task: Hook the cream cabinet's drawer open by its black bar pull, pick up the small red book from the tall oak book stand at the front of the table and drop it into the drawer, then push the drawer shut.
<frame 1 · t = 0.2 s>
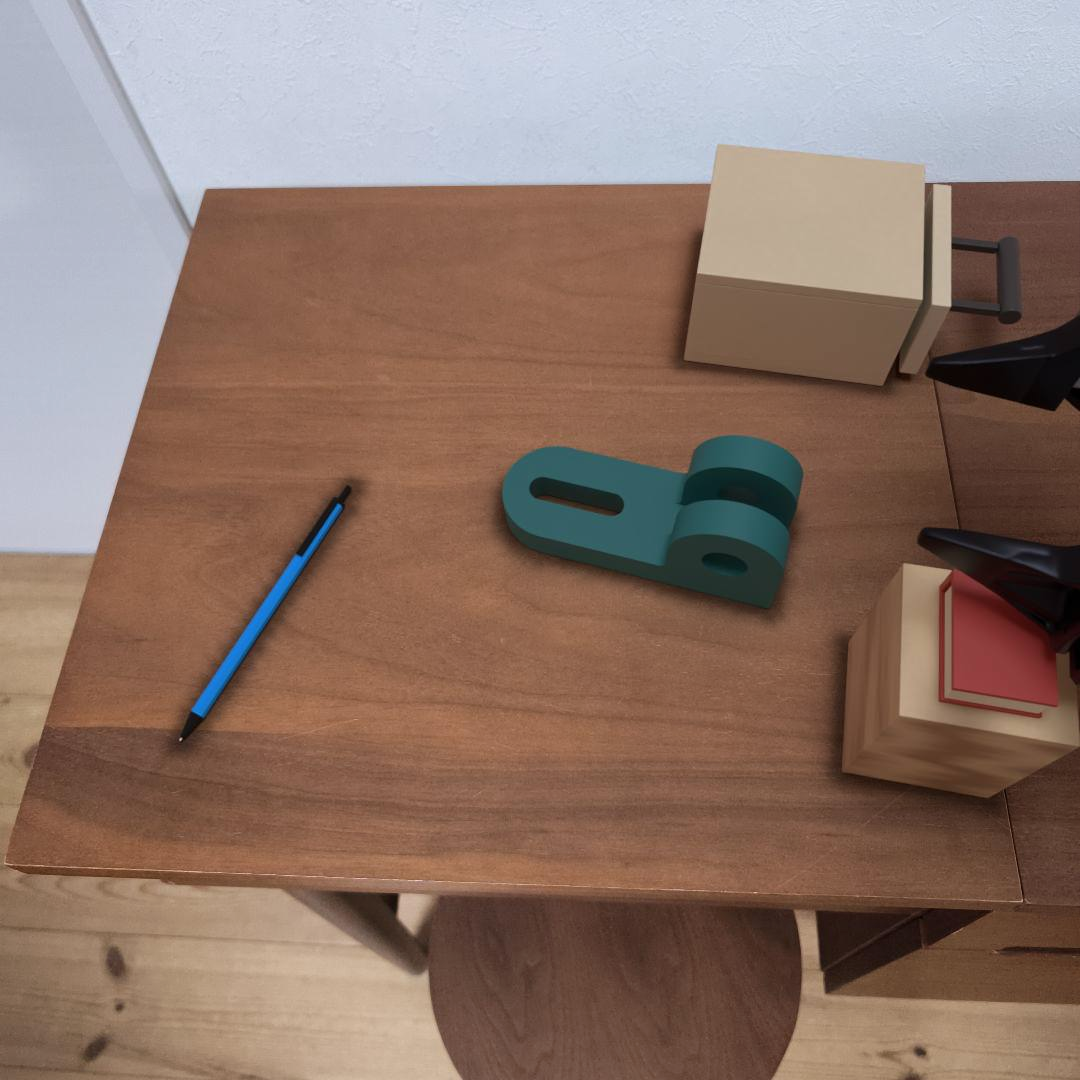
hand: (923, 447, 43), 17 cm above the table, tool horizontal, fingers open, 9 cm apart
bracket: (639, 529, 61), on the table
pen: (272, 609, 60), on the table
stand: (915, 716, 55), on the table
cabinet: (788, 308, 69), on the table
book: (987, 649, 45), point 11 cm above the table, touching stand
drawer: (878, 274, 64), point 4 cm above the table, slide at 0.8 cm
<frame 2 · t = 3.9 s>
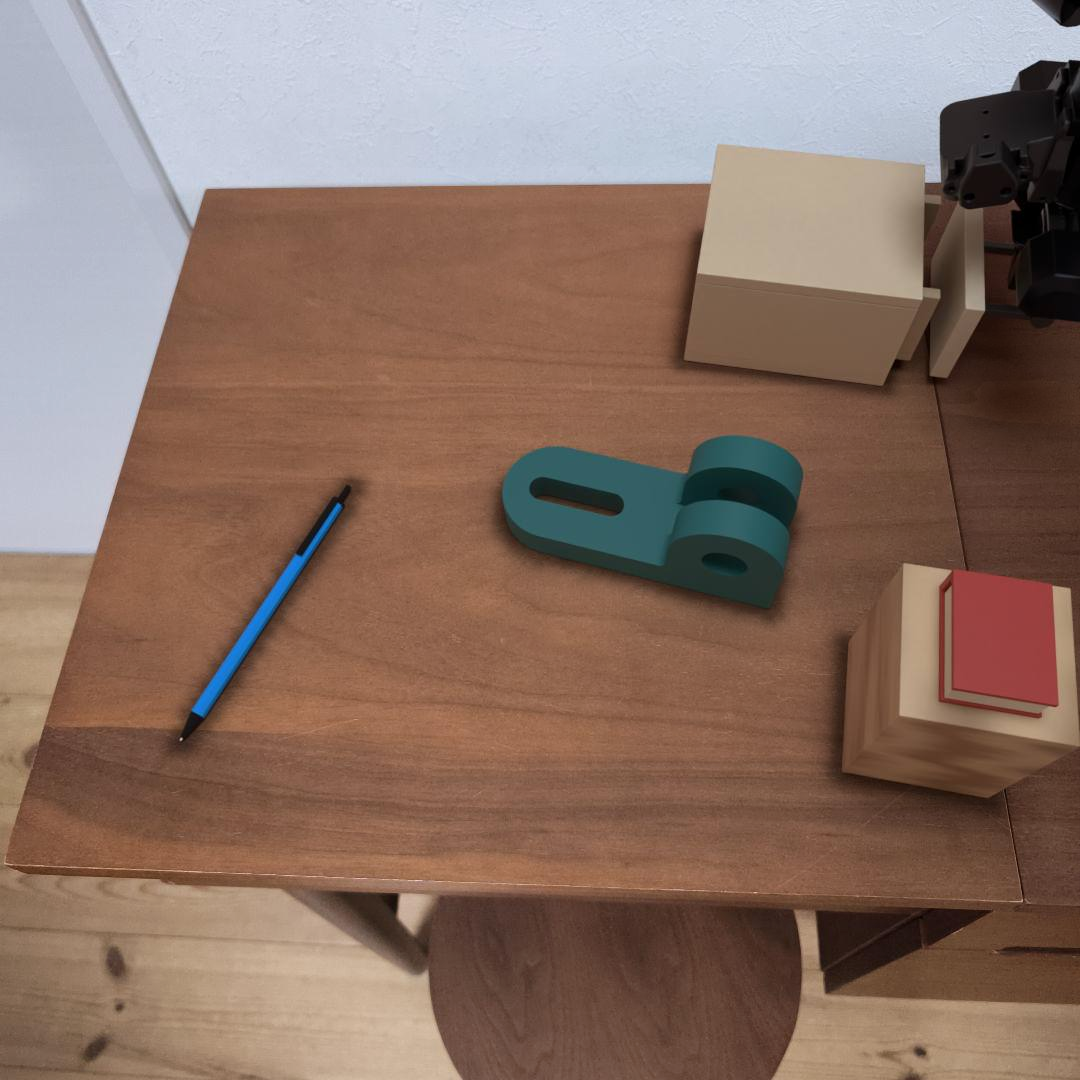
hand: (1015, 286, 63), 5 cm above the table, tool pointing down, fingers closed, pressing on drawer
drawer: (908, 278, 64), point 4 cm above the table, slide at 2.8 cm, touching gripper
everything else where it was.
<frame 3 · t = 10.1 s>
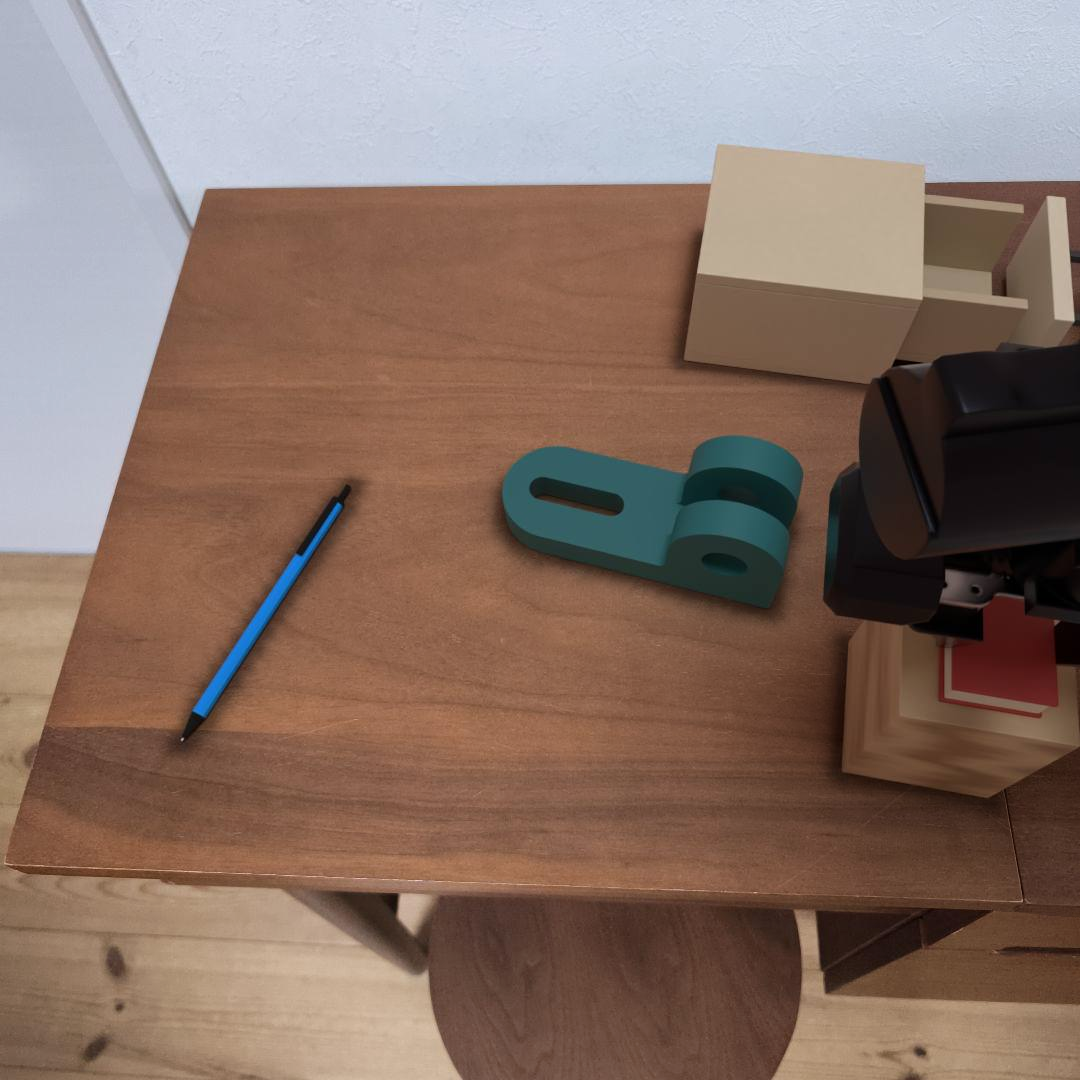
hand: (992, 646, 44), 12 cm above the table, tool pointing down, fingers closed on book, 4 cm apart
book: (987, 649, 45), point 11 cm above the table, touching gripper, stand
drawer: (989, 287, 63), point 4 cm above the table, slide at 8.1 cm
everything else where it was.
when the fingers open (6 cm above the table, at t = 15.4 s): book drops 4 cm, resting on drawer.
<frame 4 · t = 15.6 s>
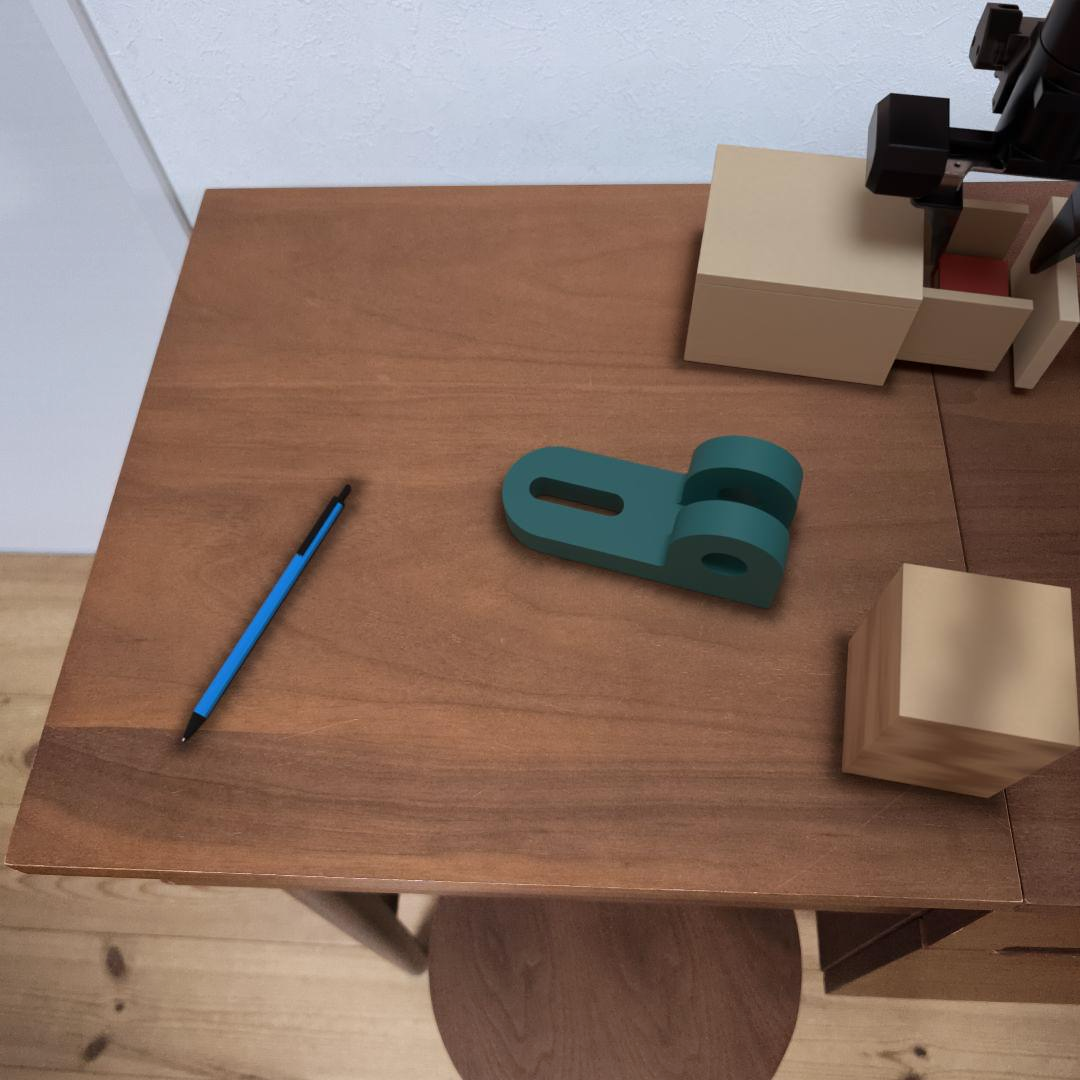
hand: (982, 263, 62), 7 cm above the table, tool pointing down, fingers open, 6 cm apart
book: (963, 309, 65), point 2 cm above the table, touching drawer
drawer: (993, 288, 63), point 4 cm above the table, slide at 8.4 cm, touching book
everything else where it was.
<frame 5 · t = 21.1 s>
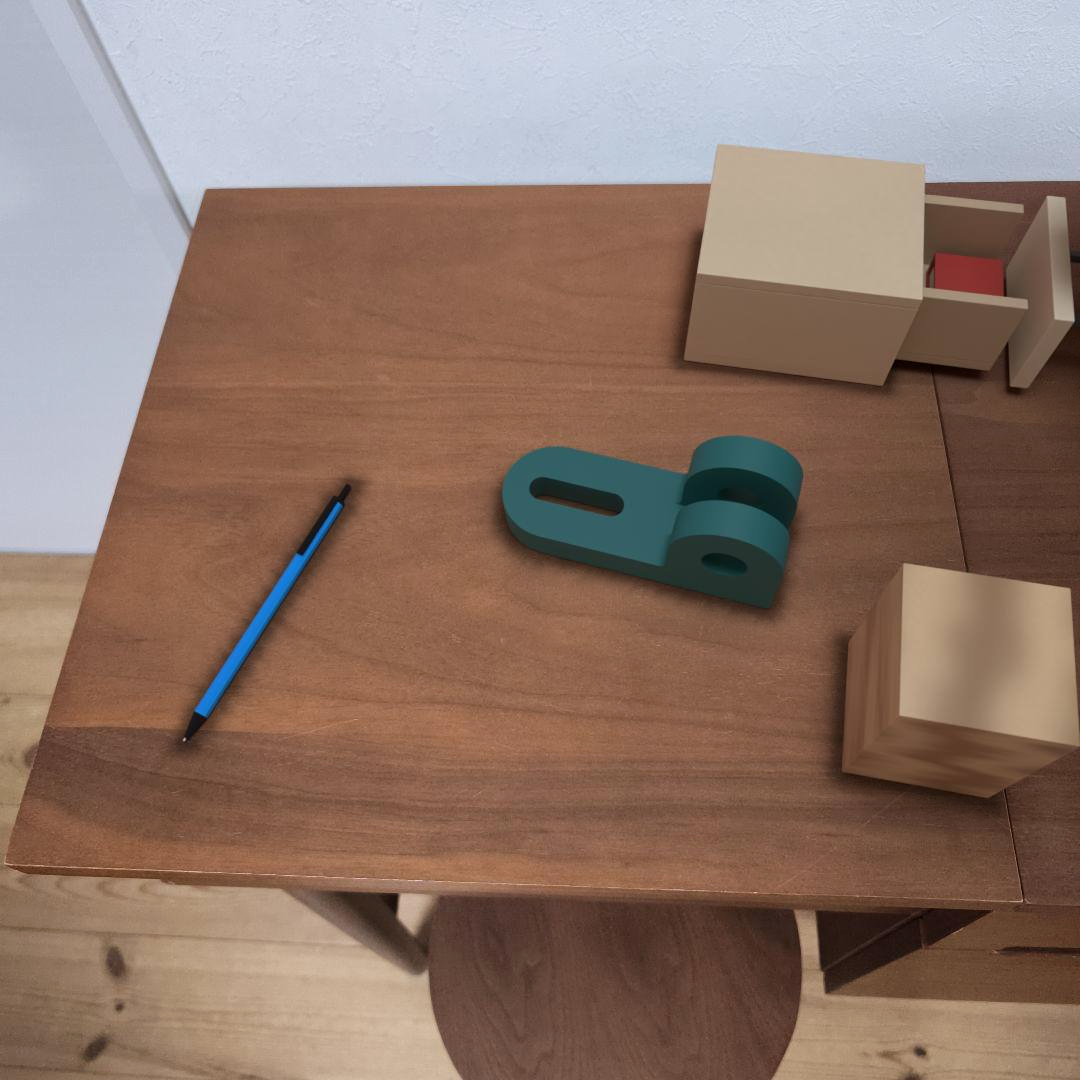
drawer: (989, 287, 63), point 4 cm above the table, slide at 8.1 cm, touching book, gripper
everything else where it was.
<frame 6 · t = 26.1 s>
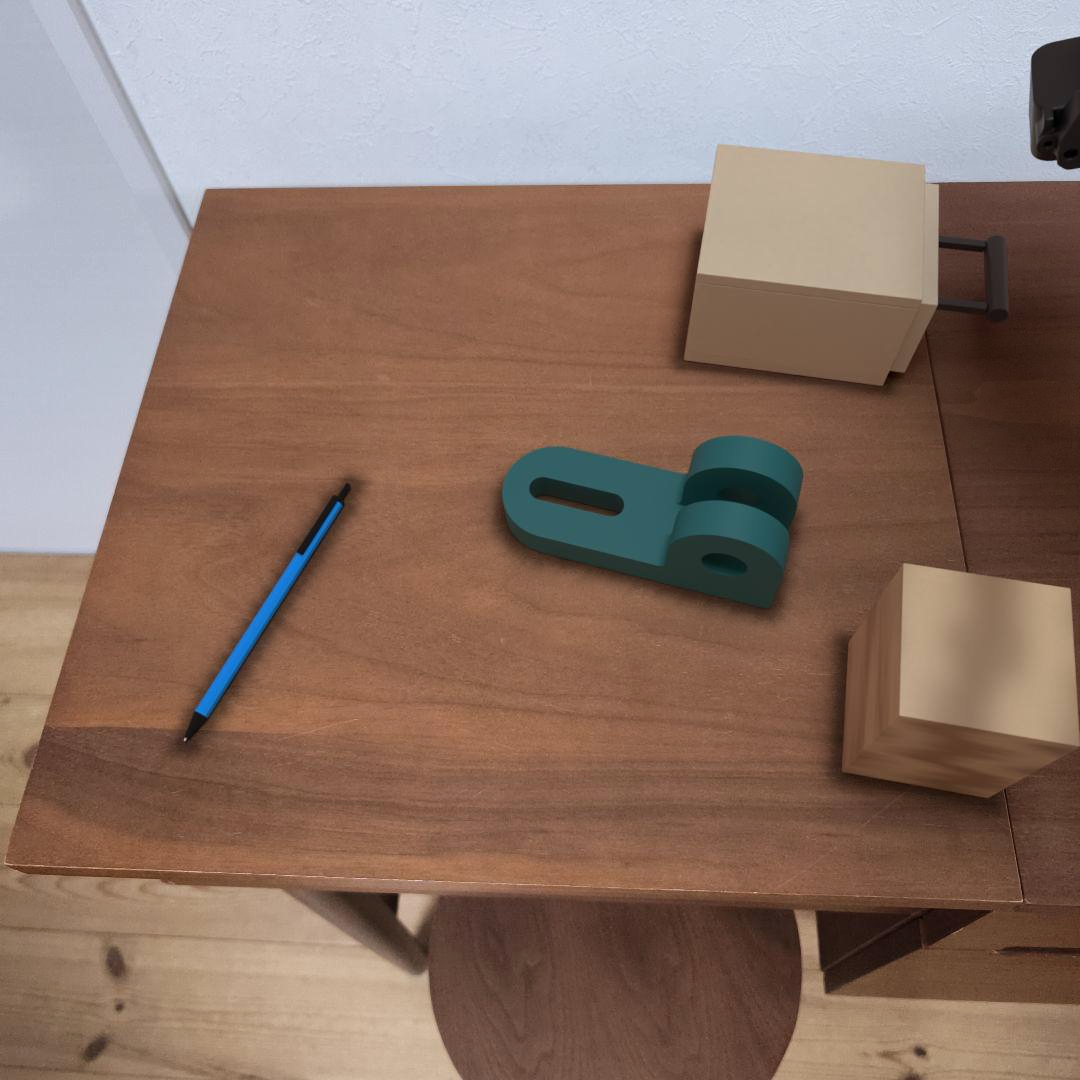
book: (840, 294, 66), point 2 cm above the table, touching drawer
drawer: (866, 273, 64), point 4 cm above the table, slide at 0.0 cm, touching book, cabinet
everything else where it was.
at the end: drawer pulled out 9.5 cm at the most during the clip, back to where it started at the end; book inside the target area in the cabinet (3.0 cm from its centre), point 2.1 cm above the cabinet's base; drawer slide at 0.0 cm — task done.
